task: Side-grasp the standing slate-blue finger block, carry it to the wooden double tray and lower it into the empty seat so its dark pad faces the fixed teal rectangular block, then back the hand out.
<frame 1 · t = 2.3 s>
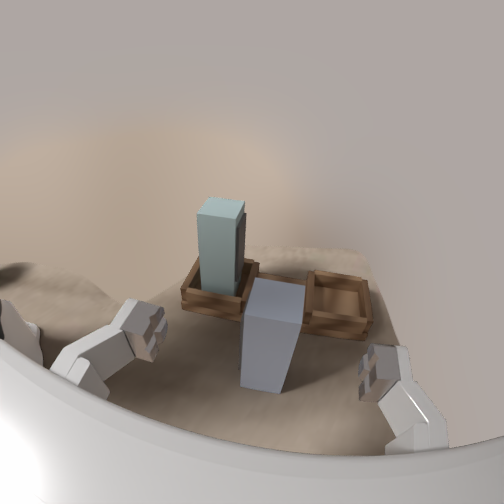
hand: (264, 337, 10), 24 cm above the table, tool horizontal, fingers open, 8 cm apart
wooden double tray: (277, 303, 45), on the table
finger block: (263, 374, 34), on the table
teal rectangular block: (222, 286, 45), resting on wooden double tray
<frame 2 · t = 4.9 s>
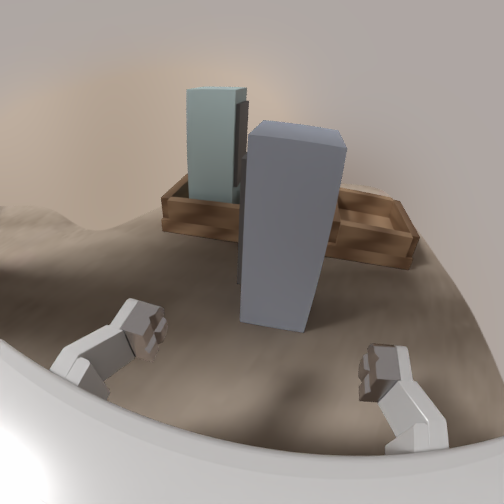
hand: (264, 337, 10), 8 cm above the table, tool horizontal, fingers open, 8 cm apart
wooden double tray: (289, 226, 34), on the table
finger block: (276, 304, 24), on the table
teal rectangular block: (216, 204, 34), resting on wooden double tray
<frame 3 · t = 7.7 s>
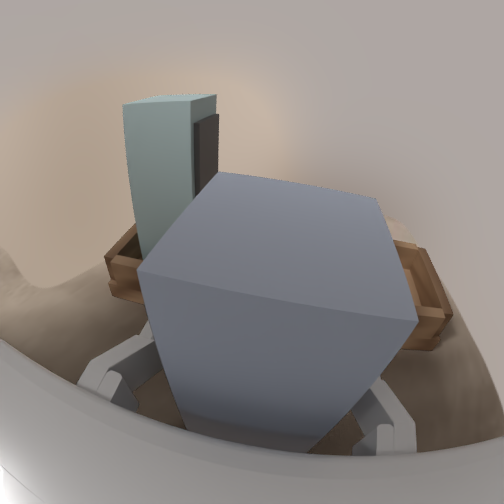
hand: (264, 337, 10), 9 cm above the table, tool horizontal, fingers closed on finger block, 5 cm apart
wooden double tray: (279, 288, 25), on the table
finger block: (249, 428, 15), on the table, touching gripper
teal rectangular block: (181, 258, 25), resting on wooden double tray
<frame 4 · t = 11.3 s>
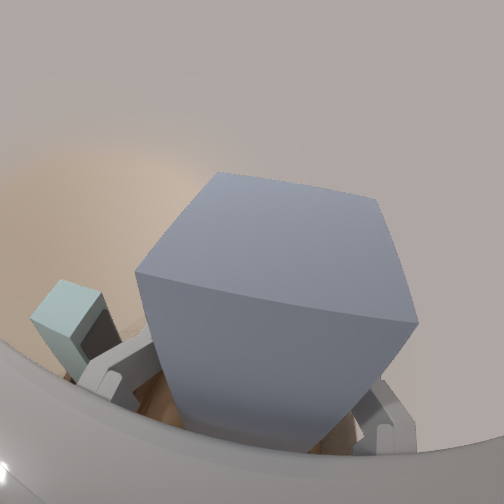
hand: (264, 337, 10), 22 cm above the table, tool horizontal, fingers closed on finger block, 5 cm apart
wooden double tray: (186, 416, 27), on the table
finger block: (249, 429, 15), point 14 cm above the table, touching gripper
teal rectangular block: (113, 387, 27), resting on wooden double tray
when the fingers open (11 cm above the table, at t = 14.7 s): finger block drops 1 cm, resting on wooden double tray.
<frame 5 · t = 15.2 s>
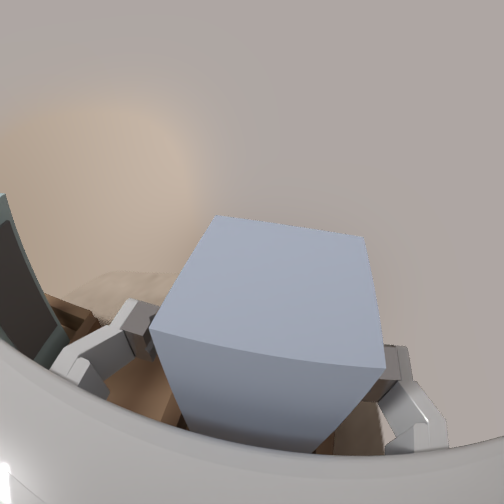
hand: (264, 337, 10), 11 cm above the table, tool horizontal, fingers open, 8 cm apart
wooden double tray: (129, 406, 18), on the table
finger block: (253, 437, 16), point 2 cm above the table, touching wooden double tray
teal rectangular block: (41, 357, 18), resting on wooden double tray
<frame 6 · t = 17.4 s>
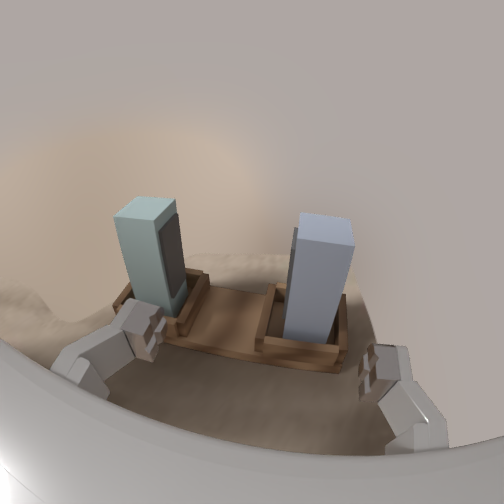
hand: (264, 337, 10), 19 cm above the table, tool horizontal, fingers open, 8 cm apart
wooden double tray: (230, 324, 36), on the table
finger block: (304, 329, 33), point 1 cm above the table, touching wooden double tray
teal rectangular block: (164, 303, 36), resting on wooden double tray
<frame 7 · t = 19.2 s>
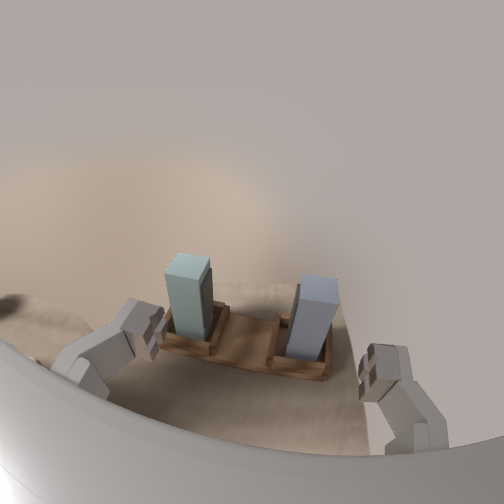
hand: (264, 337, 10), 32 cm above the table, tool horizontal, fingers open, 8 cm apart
wooden double tray: (245, 344, 47), on the table
finger block: (301, 348, 45), point 1 cm above the table, touching wooden double tray
teal rectangular block: (195, 328, 48), resting on wooden double tray
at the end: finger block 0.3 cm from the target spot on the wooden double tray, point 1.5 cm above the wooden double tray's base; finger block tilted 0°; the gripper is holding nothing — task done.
